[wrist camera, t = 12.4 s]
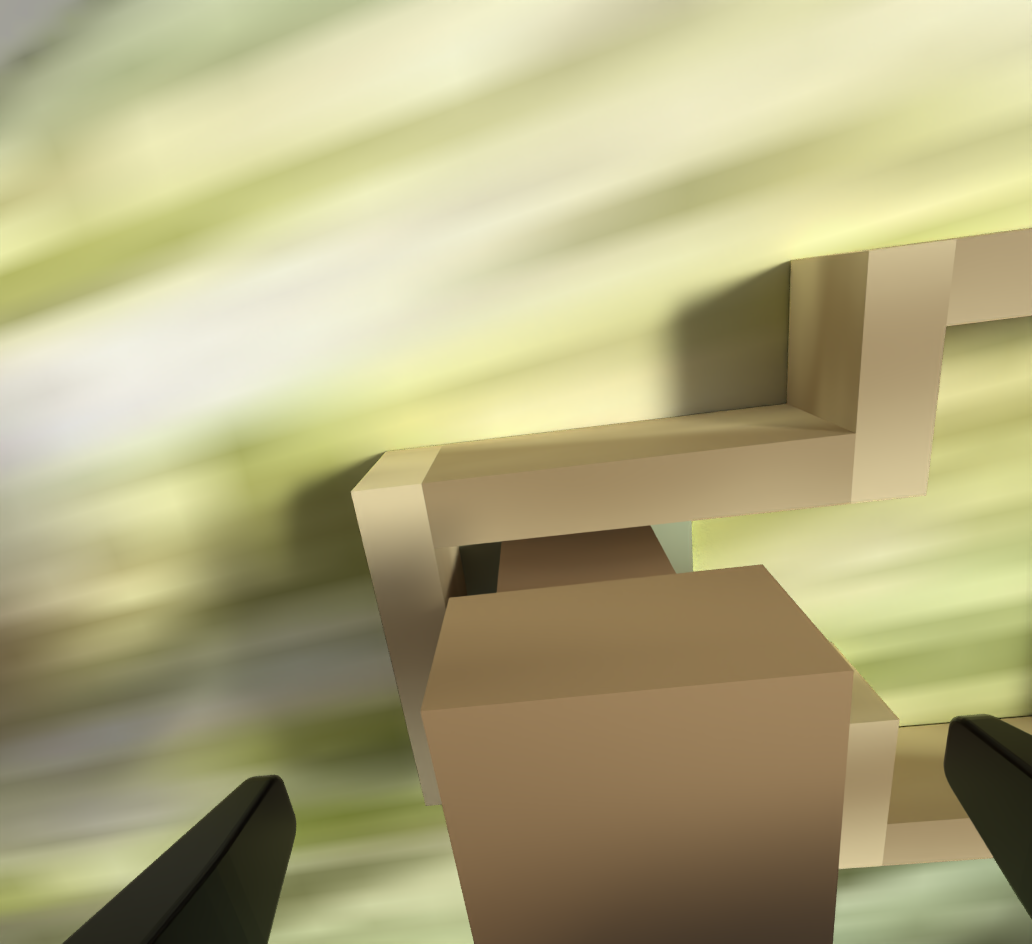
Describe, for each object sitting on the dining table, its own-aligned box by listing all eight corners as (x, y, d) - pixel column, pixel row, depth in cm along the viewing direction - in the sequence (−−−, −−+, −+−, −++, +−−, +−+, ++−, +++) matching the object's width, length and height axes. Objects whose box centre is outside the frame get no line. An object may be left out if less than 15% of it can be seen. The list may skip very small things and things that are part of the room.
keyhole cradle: (1164, 743, 13) (1295, 836, 11) (460, 800, 14) (447, 896, 12) (1340, 186, 9) (1600, 152, 7) (357, 318, 10) (311, 325, 8)
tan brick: (655, 703, 13) (812, 1205, 6) (531, 714, 13) (537, 1214, 6) (637, 420, 11) (853, 670, 4) (489, 438, 11) (420, 710, 4)
